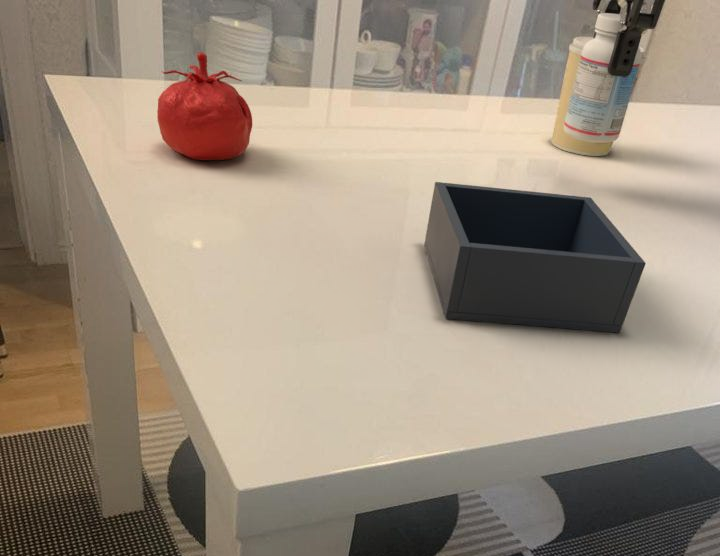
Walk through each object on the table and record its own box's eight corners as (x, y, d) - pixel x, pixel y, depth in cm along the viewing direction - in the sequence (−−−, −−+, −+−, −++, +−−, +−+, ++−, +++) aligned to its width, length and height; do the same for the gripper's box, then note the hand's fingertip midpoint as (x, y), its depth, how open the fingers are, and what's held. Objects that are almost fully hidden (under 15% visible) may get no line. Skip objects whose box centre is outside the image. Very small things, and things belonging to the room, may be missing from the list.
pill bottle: (601, 129, 84) (634, 14, 77) (627, 145, 79) (664, 24, 72) (552, 127, 82) (581, 9, 75) (576, 143, 78) (608, 19, 71)
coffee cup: (603, 163, 93) (636, 55, 85) (534, 144, 96) (561, 39, 89) (623, 149, 100) (656, 48, 92) (558, 132, 103) (585, 33, 95)
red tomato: (179, 171, 73) (174, 66, 67) (143, 141, 79) (136, 42, 73) (269, 165, 77) (272, 66, 72) (228, 136, 84) (228, 43, 78)
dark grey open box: (571, 259, 67) (590, 197, 63) (620, 333, 56) (646, 263, 53) (423, 246, 65) (435, 181, 61) (445, 318, 55) (460, 245, 51)
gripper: (740, -136, 61) (667, 88, 72) (674, -135, 72) (619, 58, 83) (653, -148, 60) (592, 80, 71) (601, -145, 71) (555, 52, 82)
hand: (607, 68), depth 77 cm, fingers closed on pill bottle, 6 cm apart
